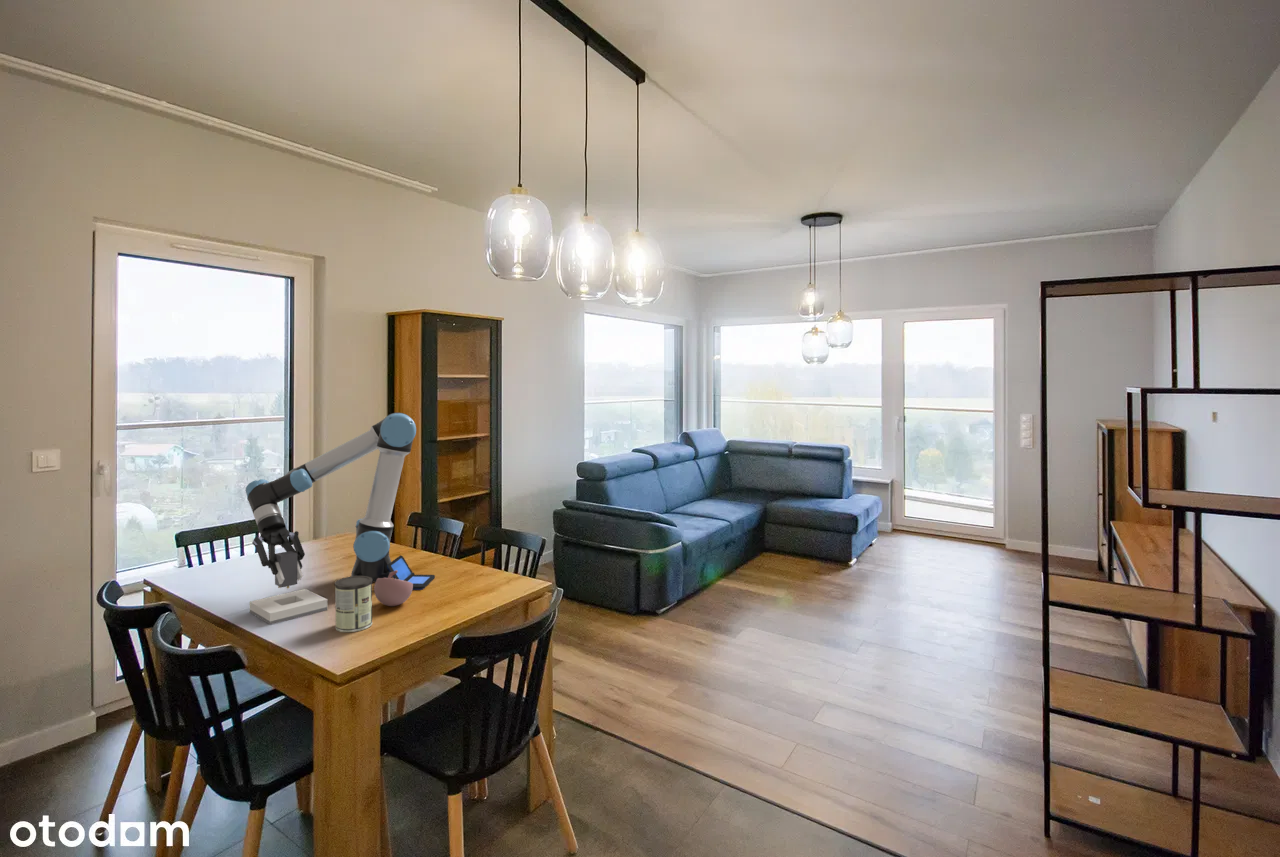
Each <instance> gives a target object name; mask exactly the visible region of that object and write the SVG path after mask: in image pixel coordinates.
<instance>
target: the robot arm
mask: <svg viewBox="0 0 1280 857" xmlns="http://www.w3.org/2000/svg"><path fill="white" fill-rule="evenodd" d="M416 426H417V425H416V423H415V421H414V420H413V418H411V417H410V415H407V414H406V413H404V412H392V413H390V414H388V415H387V416H385V417H384V418H382V419H381V420H380V421H379V422H377V423H376V424H373V425H371V426H370V429H369V430H368V431H365V432H364V433H362V434H360V435H358V436H356V437H354V438H352V439H349V440H347V441H346V442H344V443H341V445H338V446H336V447H334V448H332V449H331V450H329V451H326V452H325V453H323V454H321V455H319V456H316V457H314V458H313V459H311V460H309V461H307V462H305V463H304V464H302V465H300V466H298V467H294V468H292V469H290V470H289V471H288V472H287V473H286V474H284V475H283V476H281V477H279V478H276V479H274V480H272V481H269V480H267V479H264V478H262V479H261V478H260V479H258V480H257V479H254V480H253V481H251V482H249V483H247V485H246V487H245V493H246V500H247V501H248V504H249V506H250V509H251V511H252V514H253V517H254V518H253V519H254V520H255V523H256V525H257V530H258V532H259V534H260V536H256V537H254V538H253V540H252V542H251V543H252V545H253V546H254V547H255V549H256V551H257V554H258V557H259V560H260V563H261V564H260V565H261V567H268V569H270V571H271V574H272V575H273V576H275V575H276V576H277V579H278V582H279V584H282V583H283V581H284V576H283V573H282V571H281V568H280V565H279V562H276V563H275V554H276V546H280V547H281V548H283V549H284V552H288V551H292V552H295V553H297V581H301V580H302V579H303V576H304V574H303V572H302V569H303V563H302V560H303V559H304V557H305V555H306V554H305V551H304V548H303V546H302V543H301V540H300V538H299V531H297V530H296V531H294V532H290V531H289V530H288V529H287V525H286V523H285V520H284V518H283V515H282V512H281V510H280V507H279V505H278V504H279V503H280V502H283V501H285V500H287V499H288V498H291V497H294V496H295V495H298V494H300V493H304V492H305V491H307V490H309V489H310V488H312V487H313V484H314V483H315V482H317V481H319V480H321V479H323V478H324V477H326V476H329V475H331V474H333V473H335V472H336V471H338V470H340V469H342V468H344V467H345V466H348V465H350V464H351V463H354V462H355V461H357V460H359V459H362V458H363V457H364V456H367V455H368V454H371V453H373V452H374V451H376V450H378V451H379V455H378V459H377V465H376V468H375V472H374V476H373V481H372V486H371V490H370V495H369V498H368V504H367V508H366V511H365V516H364V517H362V518H359V519H357V520H356V524H355V539H354V542H353V546H352V547H353V551H354V554H355V558H356V559H355V561H354V565H353V568H352V569H351V570H352V571H351V575H350V577H352V576H368V577H371V578H372V583H376V580H377V579H378V578H388V576H389V574H390V572H389V570H388V568H387V565H388V564H389V563H390V562H392V560H391V557H390V548H391V539H392V538H391V537H392V533H393V531H394V530H393V529H394V523H393V522H392V520H391V518H392V514H393V510H394V505H395V501H396V497H397V493H398V488H399V484H400V479H401V475H402V471H403V466H404V462H405V458H406V456H407V455H409V454H411V451H412V448H413V447H412V446H413V442H414V439H415V437H416V434H417V427H416ZM288 537H289V538H290V540H289V538H288ZM290 541H292V544H291V542H290ZM263 542H264V543H266V544H267V549H268V550H267V551H268V554H267V553H266V549H265V547H264V543H263ZM292 545H293V546H292ZM392 578H393V576H392Z"/></svg>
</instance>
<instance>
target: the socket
mask: <svg viewBox="0 0 1280 857" xmlns="http://www.w3.org/2000/svg"><path fill="white" fill-rule="evenodd" d="M325 611H328V598H325V597H323V596H321V595H319V594H317V593H314V592H313V591H311V590H309V589H307V588H303V589H299V590H295V591H290V592H286V593H281V594H277V595H274V596H269V597H265V598H264V597H263V598H259V599H256V600H251V601H249V613H250V614H252V615H253V616H255V617H256V618H258V619H260V620H262V621H263V622H265V623H266V624H269V625H271V626H272V625H275V624H278V623H282V622H286V621H290V620H293V619H298V618H300V617H301V618H302V617H305V616H309V615H313V614H316V613H321V612H325Z"/></svg>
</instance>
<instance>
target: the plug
mask: <svg viewBox="0 0 1280 857" xmlns="http://www.w3.org/2000/svg"><path fill="white" fill-rule="evenodd" d="M276 562H279V565H280V568H281V571H282V573H283V576H284V581H283V583H282V584H279V582H278V579H277V576H276V575H274V585H275V586H277V587H278V589H280V588H286V589H287V590H288V589H289V590H290V586H295V585H298V579H297V553H295V552H292V551H288V552H286V551H283V552H275V563H276Z"/></svg>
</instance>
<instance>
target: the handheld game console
mask: <svg viewBox="0 0 1280 857" xmlns="http://www.w3.org/2000/svg"><path fill="white" fill-rule="evenodd" d="M387 568H388V570H389V572H393V571H395V570H397V571H398V572H397V573H396V574H394V575H393V577H392V579H399V580H404V581H408V582H411V583H413V589H412V591H413V590H416V591H417V590H418V591H419V590H425V588H426V587H427V586H428V585H429V584H430V583H431V582H432V581H434V579H435V577H436V575H435V574H415V572H413V571H412V568H411V567H410V566H409V564H408V562H407V561H406V559H405V557H404V556H403V555H399V556H398V557H396V558H395V559H394V560H391V562H390V563H389V564H388V565H387Z"/></svg>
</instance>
